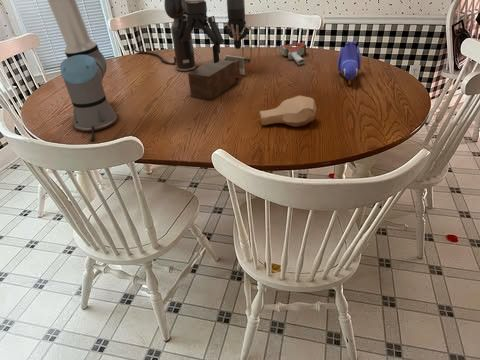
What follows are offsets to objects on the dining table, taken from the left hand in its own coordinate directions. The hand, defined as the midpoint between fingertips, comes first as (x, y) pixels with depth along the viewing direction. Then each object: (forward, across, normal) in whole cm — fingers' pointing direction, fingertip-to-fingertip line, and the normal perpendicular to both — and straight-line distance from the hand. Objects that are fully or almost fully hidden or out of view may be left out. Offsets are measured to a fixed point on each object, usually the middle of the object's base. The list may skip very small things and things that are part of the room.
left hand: (202, 60), depth 141 cm
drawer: (+13, 0, -19) cm, 23 cm away
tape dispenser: (+14, -15, -57) cm, 61 cm away
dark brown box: (+14, 0, -6) cm, 16 cm away
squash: (+14, -41, +10) cm, 45 cm away
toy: (+14, -48, -39) cm, 64 cm away
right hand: (+3, 0, -28) cm, 28 cm away
